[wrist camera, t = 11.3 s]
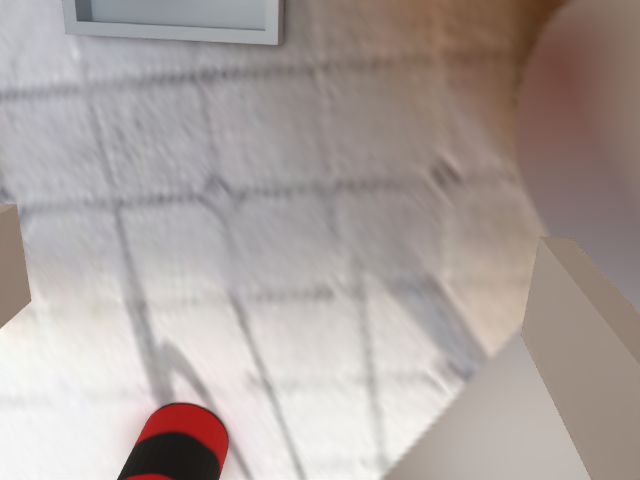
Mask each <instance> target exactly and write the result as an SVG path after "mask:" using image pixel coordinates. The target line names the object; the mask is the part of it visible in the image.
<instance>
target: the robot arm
mask: <svg viewBox="0 0 640 480" xmlns="http://www.w3.org/2000/svg"><path fill="white" fill-rule="evenodd" d="M30 302H31V295H30V289H29V282H28V275H27V269H26V262H25V256H24V249H23V243H22V236H21V230H20V223H19V217H18V210H17V204H2V203H0V328H1V327H3V326H4V325H5V324H6V323H7V322H8V321H9V320H11V319H12V318H13V317H14V316H15V315H16V314H17V313H18V312H20V311H21V310H22V309H23V308H24V307H25V306H26V305H28V304H29V303H30ZM521 336H522V338H523V340H524V342H525V344H526V346H527V348H528V350H529V353H530V355H531V356H532V359H533V361H534V363H535V365H536V367H537V369H538V371H539V373H540V375H541V377H542V379H543V381H544V383H545V385H546V388H547V389H548V391H549V394H550V396H551V398H552V400H553V402H554V404H555V406H556V408H557V410H558V412H559V414H560V416H561V418H562V420H563V422H564V425H565V426H566V429H567V430H568V433H569V435H570V437H571V439H572V441H573V443H574V445H575V447H576V449H577V451H578V453H579V455H580V457H581V459H582V461H583V464H584V466H585V468H586V470H587V472H588V474H589V476H590V478H591V480H640V314H639V312H638V311H637V310H636V309H635V308H634V307H633V306H632V304H631V303H630V302H629V301H628V300H627V299H626V298H625V297H624V296H623V295H622V294H621V293H620V291H619V290H618V289H617V288H616V287H615V286H614V285H613V284H612V283H611V281H610V280H609V279H608V278H607V277H606V276H605V275H604V274H603V273H602V272H601V270H600V269H599V268H598V267H597V266H596V265H595V264H594V263H593V262H592V261H591V259H590V258H589V257H588V256H587V255H586V254H585V253H584V252H583V251H582V250H581V248H580V247H579V246H578V245H577V244H576V243H575V242H574V241H573V240H572V239H570V238H553V237H539V243H538V248H537V253H536V259H535V264H534V269H533V274H532V280H531V285H530V290H529V295H528V301H527V306H526V311H525V317H524V322H523V327H522V332H521Z"/></svg>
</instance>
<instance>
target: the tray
mask: <svg viewBox="0 0 640 480" xmlns="http://www.w3.org/2000/svg"><path fill="white" fill-rule="evenodd" d="M62 3H63V13H64V22H65V32H66V34H74V35H93V36H113V37H132V38H151V39H170V40H190V41H209V42H228V43H248V44H267V45H279V44H281V43H283V34H284V0H62Z"/></svg>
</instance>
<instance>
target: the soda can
mask: <svg viewBox="0 0 640 480" xmlns="http://www.w3.org/2000/svg"><path fill="white" fill-rule="evenodd" d="M227 450H228V437H227V433H226V431H225V429H224V427H223V426H222V424H221V423H220V422H219V421H218V420H217V419H216V418H215V417H214V416H213V415H212V414H210V413H209V412H207V411H205V410H204V409H201V408H199V407H196V406H192V405H182V404H179V405H170V406H167V407H164V408H162V409H160V410H158V411H156V412H155V413H154V414H153V415H151V417H150V418H149V419H148V421H147V422H146V424H145V426H144V428H143V430H142V432H141V434H140V436H139V438H138V440H137V442H136V444H135V446H134V448H133V450H132V452H131V453H130V455H129V457H128V459H127V461H126V463H125V465H124V467H123V469H122V471H121V473H120V475H119V477H118V479H117V480H219V478H220V474H221V471H222V468H223V464H224V461H225V458H226V454H227Z"/></svg>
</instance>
